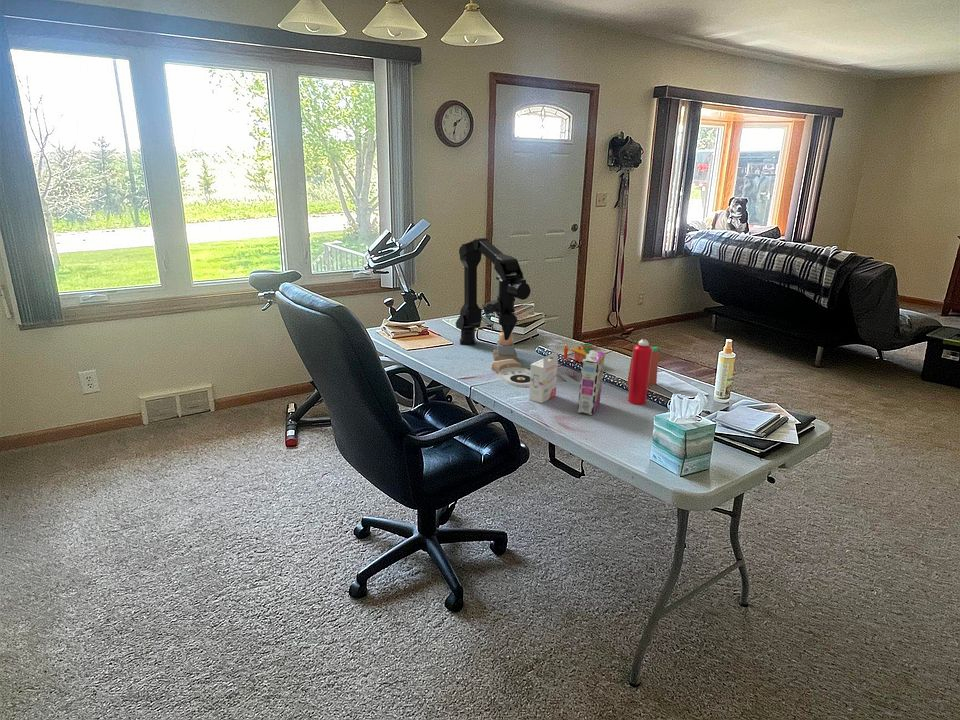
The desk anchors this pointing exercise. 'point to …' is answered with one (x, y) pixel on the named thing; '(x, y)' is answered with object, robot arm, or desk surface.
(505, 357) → the walnut block
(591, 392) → the candy bar box
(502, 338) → the clay cylinder
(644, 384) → the bottle
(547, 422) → the desk surface
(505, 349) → the slate block
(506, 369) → the record player
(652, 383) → the toy building block set
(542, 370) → the ink cartridge box
